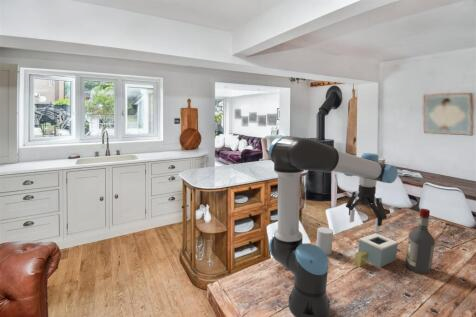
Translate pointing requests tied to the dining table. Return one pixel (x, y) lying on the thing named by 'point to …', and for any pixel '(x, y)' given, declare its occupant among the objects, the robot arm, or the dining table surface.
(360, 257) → the block
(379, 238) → the open-top box
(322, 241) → the cup
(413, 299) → the dining table surface
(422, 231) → the liquor
